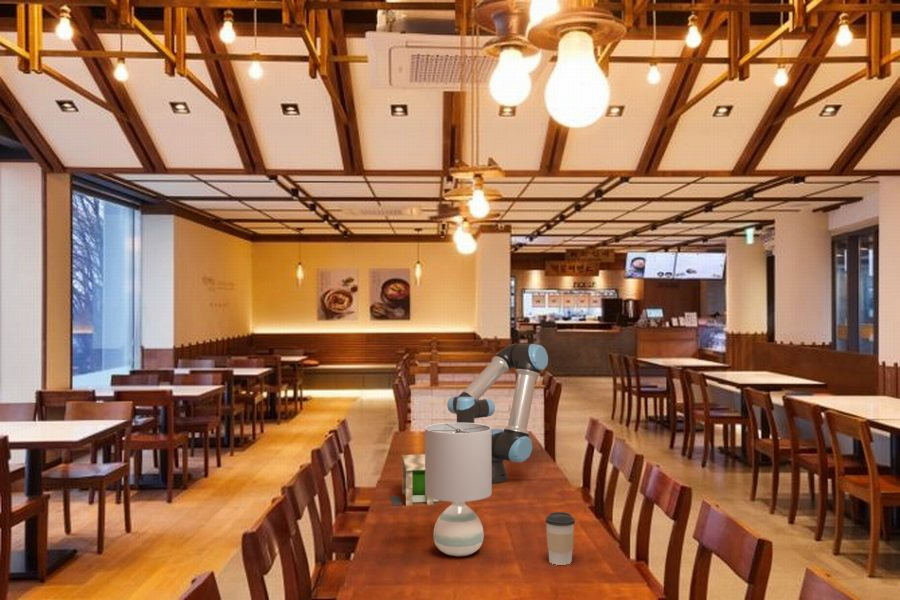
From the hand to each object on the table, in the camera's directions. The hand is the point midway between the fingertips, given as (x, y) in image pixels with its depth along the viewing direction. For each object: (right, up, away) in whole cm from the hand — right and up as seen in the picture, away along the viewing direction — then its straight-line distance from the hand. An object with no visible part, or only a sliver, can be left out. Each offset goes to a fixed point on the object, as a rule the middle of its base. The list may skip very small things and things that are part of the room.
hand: (465, 489), depth 307 cm
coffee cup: (+28, -2, -80) cm, 85 cm away
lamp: (-4, -2, -70) cm, 70 cm away
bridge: (-20, -3, -3) cm, 21 cm away
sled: (-10, -3, -1) cm, 10 cm away
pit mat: (-29, -3, -6) cm, 30 cm away
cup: (-19, -3, -3) cm, 20 cm away
